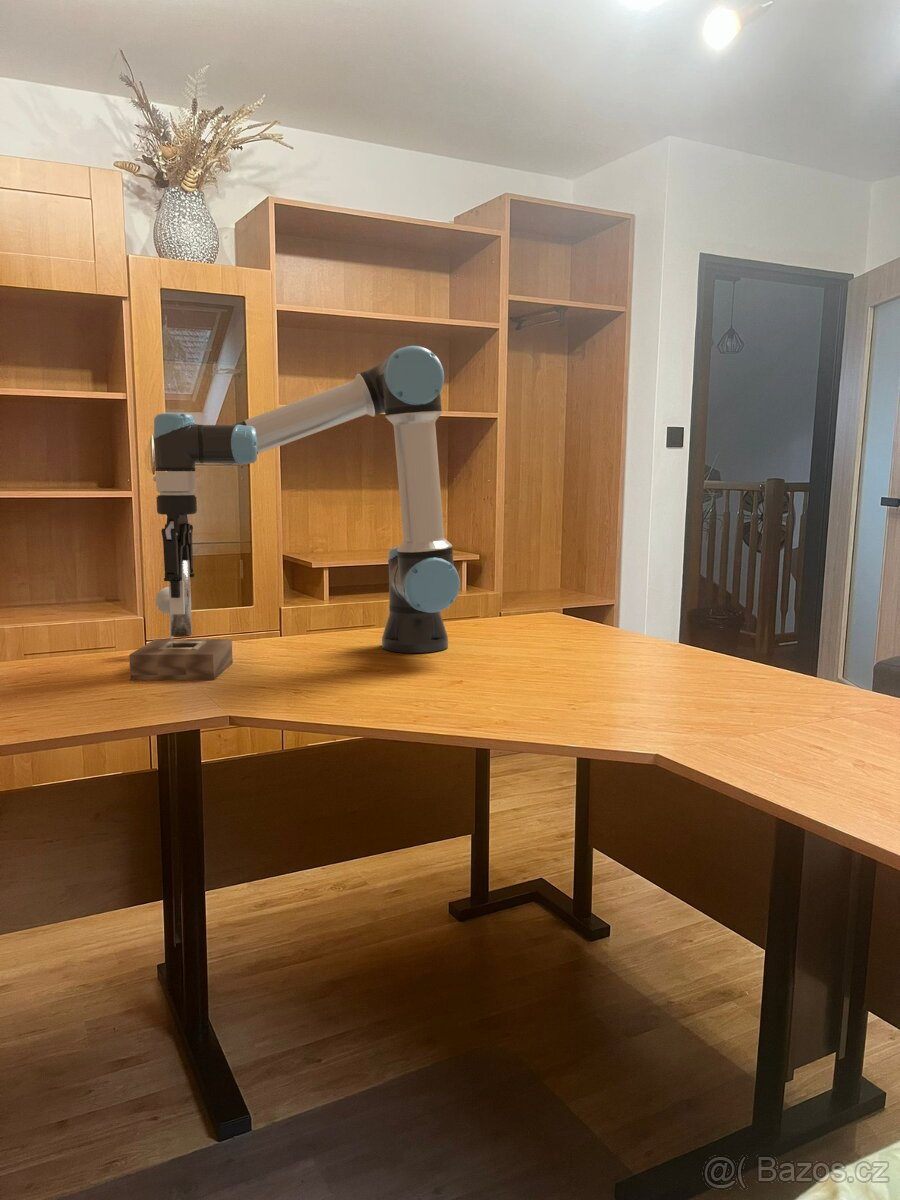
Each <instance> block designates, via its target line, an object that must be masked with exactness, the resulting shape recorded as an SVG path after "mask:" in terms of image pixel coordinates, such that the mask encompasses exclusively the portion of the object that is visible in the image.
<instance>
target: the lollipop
mask: <svg viewBox="0 0 900 1200" xmlns="http://www.w3.org/2000/svg"><path fill="white" fill-rule="evenodd" d="M154 599H155V600H154V602H155V605H156V607H157V609H158V610H159V611H160V612H162V613H163V614H166V615H168V620H169V621H168V623H169V636H170V637H169V639H173V636H171V622H170V599H169V586H166V587H163V588H162V589H160V590H159V591H158V592H157V594H156V595H155V598H154Z"/></svg>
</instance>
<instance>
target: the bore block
mask: <svg viewBox="0 0 900 1200" xmlns="http://www.w3.org/2000/svg"><path fill="white" fill-rule="evenodd" d="M128 659H129V675H130V679H129V680H130V681H214V680H216V679H217V678H218V677H219V676H220V675H221V674H222V673H223V672H224V671H226V669H227V668H228V667H230V666H231V664H233V659H234V658H233V638H232V639H231V638H187V639H186V638H172V639H170V638H156V639H153V640H151V641H150V642H148V643H146V644H145V645H143V646H141V647H140V648H138V649H137V650H135V651H133V652H132V653H129V657H128Z"/></svg>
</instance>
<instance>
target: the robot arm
mask: <svg viewBox="0 0 900 1200" xmlns="http://www.w3.org/2000/svg"><path fill="white" fill-rule="evenodd" d="M444 382H445V372H444V367H443V365H442V363H441V361H440V359H439V358H438V357H437V355H436V354H434V352H433V351H431V350H430V349H428V348H426V347H423V346H419V345H407V346H404V347H403V346H402V347H399V348H398V349H396V350H394V351H393V352H392V353H391V354H389V356H387V357H386V358H385V359H384V360H382V361H381V362H380V363H378V364H376V365H374V366H373V367H371V368H369V369H367V370H365V371H362V372H361V371H360V372H359V373H357V374H356V375H355V378H354V379H353V380H351V381H349V382H346V383H343V384H341V385H337V386H335V387H332V388H329V389H327V390H324V391H321V392H318V393H316V394H313V395H310V396H307V397H304V398H301V399H300V400H297V401H294V402H291V403H288V404H285V405H283V406H280V407H277V408H275V409H272V410H269V411H266V412H264V413H261V414H259V415H256V416H253V417H250V418H248V419H245V420H243V421H242V420H241V421H240V422H239V421H238V422H236V423H233V424H209V425H208V424H197V423H195V421H194V416H193V415H192V414H190V413H175V412H172V413H171V412H170V413H169V412H167V413H164V412H163V413H158V414H156V415H155V417H154V419H153V448H154V450H153V451H154V465H155V466H154V468H155V476H153V479H152V481H154V482H155V484H156V485H155V487H156V489H155V491H156V492H157V493H159V495H156V496H157V497H156V498H155V500H156V512H157V514H158V515H166V524H164V528H161V537H162V547H163V548H162V549H163V566H164V577H163V580H164V582H168V587H169V599H170V614H185V601H184V581H182V560H189V570H190V578H195V575H196V574H195V573H194V564H193V563H194V560H193V559H194V558H193V556H194V555H193V551H194V550H193V531H194V530H193V529H194V526H193V524H190V523H189V520H188V519H189V518H188V515H195V514H197V512H198V507H197V503H198V502H197V496H196V495H194V493H196V492H197V476H196V473H197V471H196V464H217V465H218V464H222V465H225V466H230V465H235V464H237V465H245V464H247V465H248V464H254V463H256V461H258V460H257V458H258V455H259V454H262V453H264V452H267V451H270V450H273V449H275V448H278V447H281V446H284V445H286V444H289V443H292V442H294V441H295V442H296V441H297V440H300V439H303V438H304V437H305V438H306V437H308V436H310V435H313V434H317V433H318V432H322V431H324V430H327V429H330V428H333V427H335V426H338V425H341V424H343V423H347V422H349V421H351V420H352V421H353V420H354V419H357V418H359V417H363V416H365V415H368V416H370V417H376V416H380V415H382V414H385V415H384V416H385V418H386V419H387V420H388V422H390V423H391V424H392V426H393V432H394V433H393V435H394V444H395V446H394V447H395V458H396V468H397V479H398V480H397V482H398V492H399V503H400V516H401V528H402V538H403V541H402V543H401V544H400V545H399V546H395V547H392V548H390V550H389V552H388V559H387V564H388V589H389V591H388V602H389V603H388V604H389V605H388V607H389V608H388V609H389V611H388V612H389V614H388V617H387V620H386V624H385V626H384V630H383V633H382V637H381V648H382V649H383V650H386V651H389V652H393V653H404V654H406V653H407V654H421V653H422V654H424V653H434V652H440V651H443V650H447V649H448V647H449V637H448V633H447V629H446V627H445V624H444V623H445V622H444V621H443V620H444V619H443V617H442V615H441V611H444V610H445V609H447V608H449V607H451V605H452V604H453V603H454V602H455V600H456V598H457V597H458V595H459V593H460V589H461V588H460V587H461V580H460V576H459V572H458V571H457V568H456V567H455V565H454V552H453V551H454V550H453V545H452V543H451V542H449V540H448V539H446V538H445V529H444V519H443V517H444V516H443V506H442V505H443V504H442V494H441V492H442V491H441V490H442V489H441V480H440V467H439V465H440V464H439V454H438V452H439V451H438V444H437V443H438V441H437V429H436V422H437V420H438V419H439V417H440V416H441V415H442V414H443V413H442V409H443V408H442V398H441V395H442V394H441V392H442V390H443V388H444ZM191 590H192V589H191V586H190V597H191V598H192V594H191V593H192V592H191Z"/></svg>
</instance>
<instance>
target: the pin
mask: <svg viewBox="0 0 900 1200" xmlns="http://www.w3.org/2000/svg"><path fill="white" fill-rule="evenodd" d="M182 581H184V601H185V614H170V622H171V636H172V638H173V637H174V638H185V637H190V636H193V631H192V629H193V628H192V627H193V625H192V596H191V597H190V587H191V577H190V570H189V560H182Z"/></svg>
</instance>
